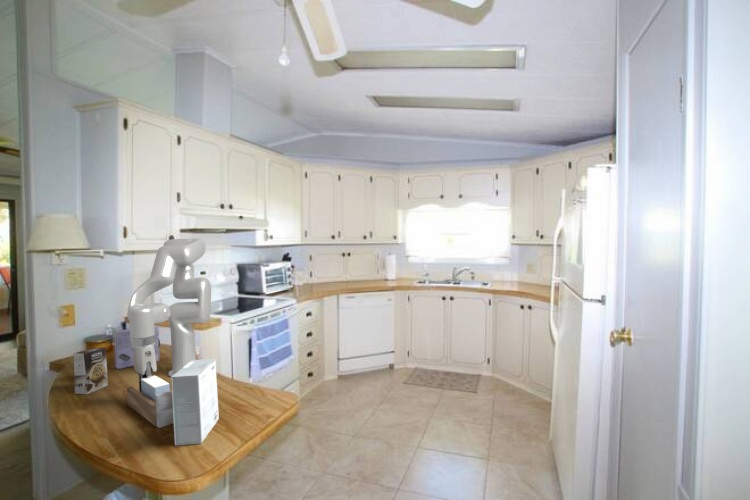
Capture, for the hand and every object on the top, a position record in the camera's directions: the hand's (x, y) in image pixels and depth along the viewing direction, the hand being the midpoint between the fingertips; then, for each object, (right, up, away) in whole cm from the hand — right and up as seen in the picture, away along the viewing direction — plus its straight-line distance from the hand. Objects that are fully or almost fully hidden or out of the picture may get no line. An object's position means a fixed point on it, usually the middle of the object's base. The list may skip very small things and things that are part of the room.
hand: (145, 391), depth 139 cm
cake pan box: (-32, -5, +48) cm, 58 cm away
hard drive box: (+30, -4, -24) cm, 38 cm away
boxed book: (+8, -4, -7) cm, 11 cm away
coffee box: (-30, -5, +15) cm, 34 cm away
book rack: (+8, -4, -7) cm, 11 cm away
